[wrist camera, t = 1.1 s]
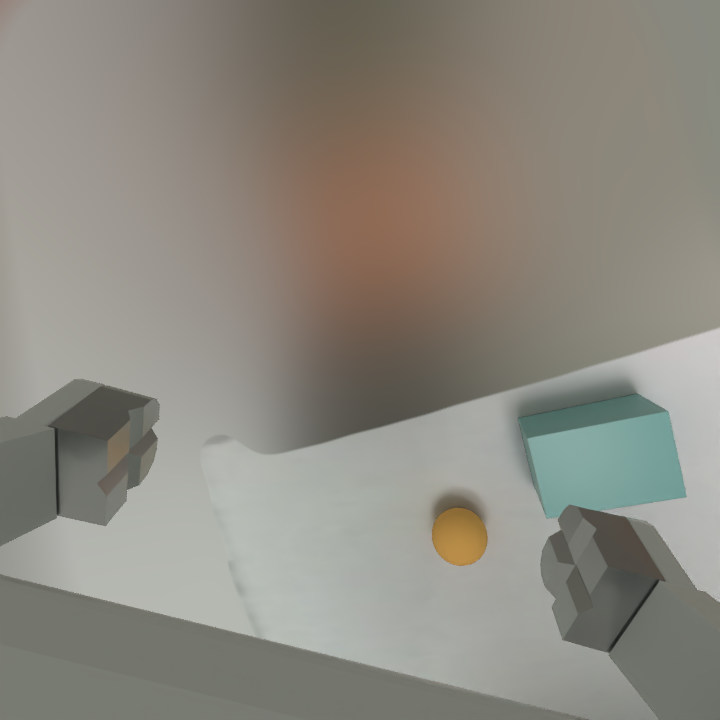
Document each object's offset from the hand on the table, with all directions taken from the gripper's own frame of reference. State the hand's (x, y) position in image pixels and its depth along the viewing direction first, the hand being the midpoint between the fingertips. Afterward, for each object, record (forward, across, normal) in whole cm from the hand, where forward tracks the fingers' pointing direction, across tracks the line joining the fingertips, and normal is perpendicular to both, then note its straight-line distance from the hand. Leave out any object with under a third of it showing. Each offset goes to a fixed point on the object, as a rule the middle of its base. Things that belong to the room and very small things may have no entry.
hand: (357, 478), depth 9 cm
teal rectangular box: (+30, +21, -13) cm, 39 cm away
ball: (+27, +13, -24) cm, 38 cm away
